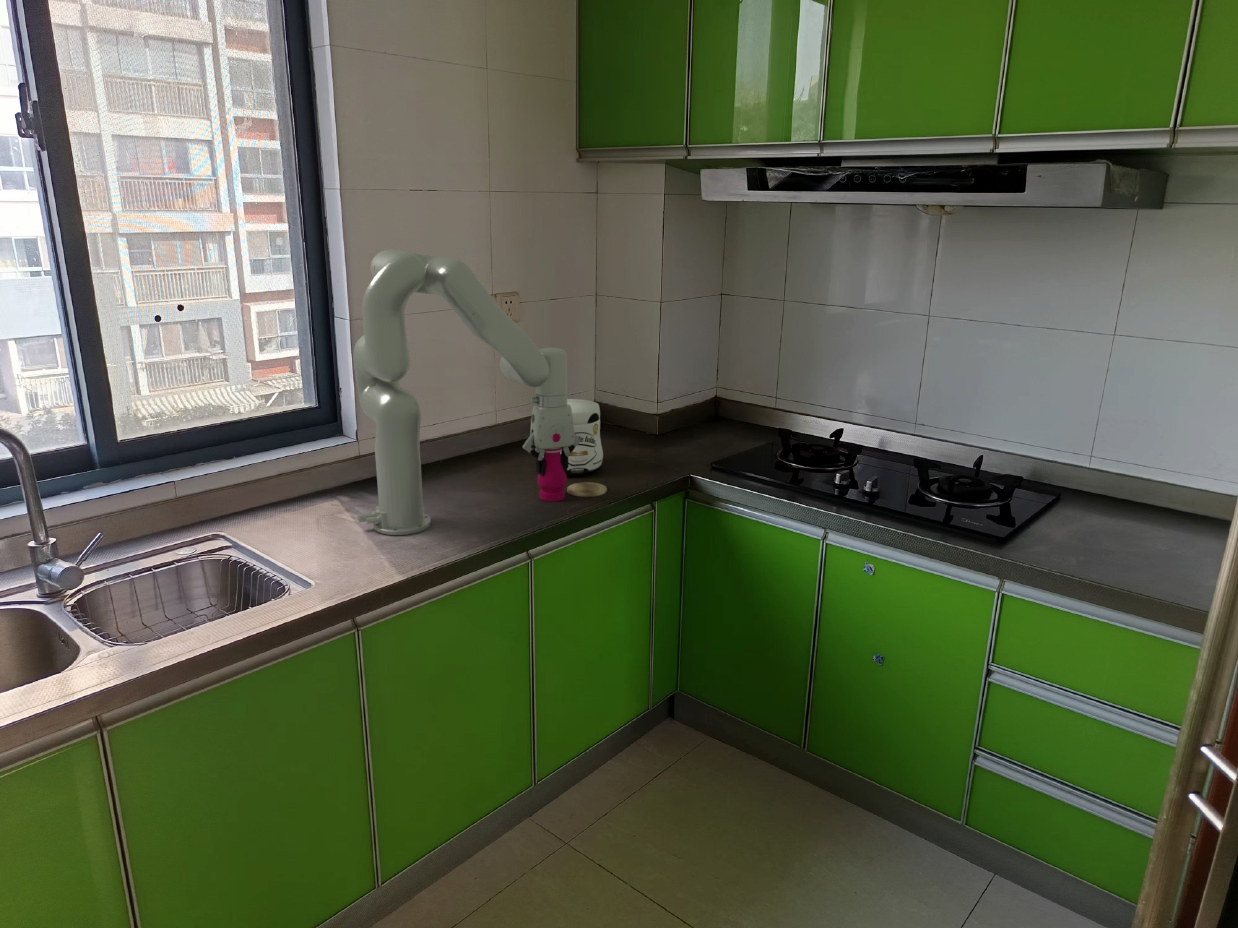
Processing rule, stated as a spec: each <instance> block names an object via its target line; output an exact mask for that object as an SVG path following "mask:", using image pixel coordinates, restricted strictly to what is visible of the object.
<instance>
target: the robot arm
mask: <svg viewBox="0 0 1238 928" xmlns="http://www.w3.org/2000/svg"><path fill="white" fill-rule="evenodd" d="M370 275H371V277H372V279H371V281H370V282H369V284H368V286H367V288H366V289H365V293H364V295H363V300H362V305H361V306H362V307H361V311H362V313H361V314H362V325H363V326H362V327H363V335H362V336H361V337H359V339H358V340H357V341H356V342H355V345H354V349H353V355H352V356H353V357H352V358H353V359H352V360H353V368H354V374H355V383H356V388H357V395H358V402H359V404H360V409H361V410H362V412H363V413H364V414H365V416H367V418H368V419H370V420H372V422H374V423H375V438H374V456H375V457H374V458H375V459H374V460H375V469H376V480H377V484H376V485H377V497H378V505H376V506H375V509H374V510H371V512H362V513H361V512H360V513H357V515H356V516H357V521H358V523H364V522H366V525H368V524H369V525H370V524H372V527H373V529H374V531H375V532H377V533H380V534H382V535H389V536H405V535H406V536H407V535H411V534H417V533H419V532H422V531H423V532H424V531H425V530H427V529H428V528H430V526H431V524H432V519H431V517H430V515H428V514H425V513H424V500H423V486H422V485H423V483H422V482H423V481H422V480H423V479H422V463H421V450H420V449H421V447H420V446H421V445H420V441H421V440H420V438H421V437H420V434H421V433H420V432H421V424H422V423H421V422H422V411H421V405H420V403H419V401H418V399H417V397H416V396H415V395H414V394H413V393H412V392H410V391H409V390H407V389H406V388H404V387H402V386H400V380H403V378H404V377H405V376H406V375H407V374H408V372H409V369H410V364H411V363H410V362H411V360H410V352H409V345H408V338H407V330H406V319H405V318H406V317H405V314H406V313H405V312H406V306H407V303H408V301H409V299H410V298H411V296H412V295H414V293H417V294H425V295H426V294H427V295H435V296H440V297H442V298H443V299H444V300H445V302H446V303H447V304H448V306H450V308H451V309H452V310H453V311H454V313H455V314H456V315H457V317H458V318H459V319H460V320H461V321H462V323H463V324H464V325H465V327H466V329H468V331H470V333H471V334H472V335H474V336H475V337H476V338H477V339H479V340H480V341H481V342H483V343H484V344H486V345H488V346H489V347H491V348H492V349H494V350H495V352H497V353H498V354H499V355H500V356H501V358H500V360H499V368H500V371H501V373H502V375H503V376H504V377H505V378H507V379H508V380H510V381H513V382H515V383H518V384H521V385H523V386H525V387H528V388H534V389H535V390H534V391H535V393H534V396H533V397H530V399H529V400H530V403H531V404H534V406H533V407H532V412H531V416H530V417H531V418H530V431H529V432H530V433H529V437H528V438H527V439H526V440H525V441H524V444H523V445H522V449H523V450H525V451H527V452H528V454H530V455H532V457H533V458H535V471H536V472H537V474H540V475H541V476H544V475H545V461H544V460H543V456H544V452H545V450H546V449H554V448H561V447H562V451H561V454H560V458H561V463H562V466H563V469H564V472H565V473H567V468H568V457H569V456H570V453H571V452H572V451H573V450H574V449H575V447H576V446H577V445H578V444H579V443H580V442H581V440H580V439H579V438H578V436H577V435H576V434H575V433H574V422H573V415H572V410H571V406H570V405H568V404H567V399H568V355H567V352H566V351H565V350H564V349H562V348H558V347H543V348H540V349H539V347H538V346H537V345H536V344H535V342H534V341H533V340H532V339H531V337H530V336H529V335H528V334H527V333H526V332H525V331H524V330H523V329H522V328H521V327H520V326H519V325H518V324H517V323H516V322H515V321H514V319H512V318H511V317H510V316H509V315H508V313H506V312H505V311H504V310H503V308H501V307H500V305H499V304H498V302H497V301H496V300H495V299H494V298H493V297H492V295H491V294H490V292H489V291H488V290H487V288H486V287H485V286H484V285H483V284H482V281H480V279H479V278H478V277H477V275H476V274H475V273H474V271H473V270H472V269H471V267H470V266H469V265H468V264H467V263H465V262H464V261H463V260H460V259H457V258H453V257H452V258H451V257H450V258H449V257H446V256H438V255H437V256H436V255H429V254H428V255H427V254H422V253H421V254H419V253H413V252H409V251H403V250H397V249H384V250H382V251H380V252H378V253H376V255H375V256H374V257H373V258H372V261H371V262H370ZM556 433H558V434H560V437H561V438H560V441H558V442H554V441H553V435H554V434H556ZM532 446H535V448H533V447H532Z"/></svg>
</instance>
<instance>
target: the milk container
mask: <svg viewBox="0 0 1238 928" xmlns="http://www.w3.org/2000/svg"><path fill="white" fill-rule="evenodd" d="M567 404H568V405H570V406H571V410H572V415H573V422H574V433H575V434H576V435H577V436H578V438H579V439H580V440H581V442H580V443H579V444H578V445H577V446H576V447H575V449H574V450H573V451H572V452H571V453H570V456H569V457H568V468H567V473H566V476H567V475H568V476H569V475H570V476H575V475H584V474H588V473H592V472H595V471H596V470H598V469H599V468H600V467H601V466H602V463H603V458H604V447H603V444H602V440H601V431H600V430H601V409H600V404H599V403H598V402H595V401H593V400H588V399H579V398H567ZM560 454H561V452H560ZM543 457H544V456H543Z"/></svg>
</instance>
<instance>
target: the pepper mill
mask: <svg viewBox="0 0 1238 928" xmlns="http://www.w3.org/2000/svg"><path fill="white" fill-rule="evenodd" d="M560 438H561V437H560V434H558V433H556V434H554V435H553V441H554V442H558V441H560ZM561 451H562V447H561V448H554V449H546V450H545V452H544V457H543V460H544V461H545V475H544V476H541V475H540V474H538V473H537V474H538V476H537V485H538V486H539V488H540V490H539V499H540V500H541V501H544V502H552V503H553V502H559V501H560V502H561V501H563V500H564V499H565V498H566V489H564V488H565V487H566V486H567V484H568V478H567V475H566V473H565V472H564V469H563V466H562V463H561V458H560V452H561Z"/></svg>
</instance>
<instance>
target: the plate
mask: <svg viewBox="0 0 1238 928" xmlns="http://www.w3.org/2000/svg"><path fill="white" fill-rule="evenodd" d="M566 492H567V493H568V494H570V495H571V496H574V497H580V498H595V497H601V496H603V495H605V494H606V493H607V492H608V488H607V486H606V485H605V484H602V483H598V482H593V481H592V482H590V481H587V482H586V481H583V482H577V483H572V484H569V485H568V486H567V488H566Z"/></svg>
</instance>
